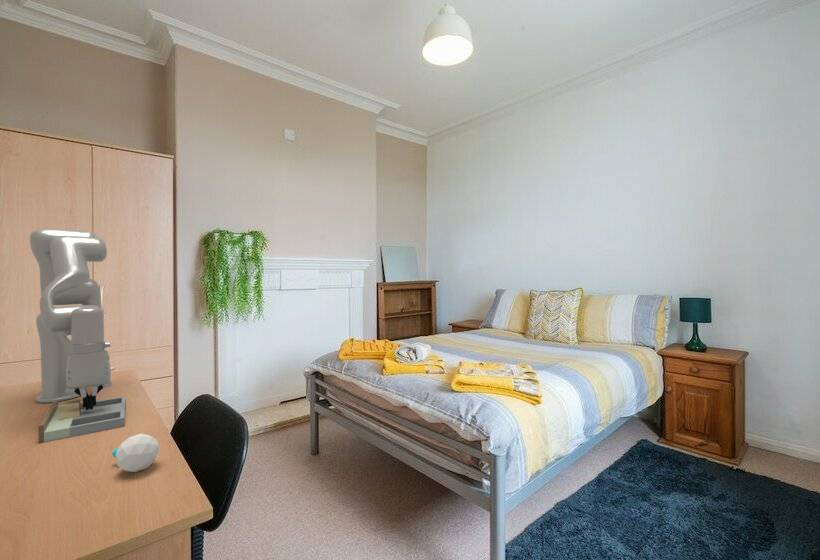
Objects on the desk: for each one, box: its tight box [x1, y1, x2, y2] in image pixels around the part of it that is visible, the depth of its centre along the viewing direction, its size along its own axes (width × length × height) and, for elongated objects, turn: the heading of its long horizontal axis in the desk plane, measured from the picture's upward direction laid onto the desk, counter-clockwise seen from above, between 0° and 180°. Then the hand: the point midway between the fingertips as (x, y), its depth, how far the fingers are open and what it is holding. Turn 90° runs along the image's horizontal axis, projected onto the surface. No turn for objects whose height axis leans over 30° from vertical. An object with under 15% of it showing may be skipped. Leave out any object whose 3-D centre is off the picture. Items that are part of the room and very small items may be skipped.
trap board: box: [38, 396, 127, 444], centre depth 114 cm, size 23×18×4 cm
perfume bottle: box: [111, 432, 160, 473], centre depth 87 cm, size 8×8×12 cm
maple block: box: [58, 398, 82, 420], centre depth 111 cm, size 4×4×4 cm
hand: (89, 408), depth 114 cm, fingers closed
